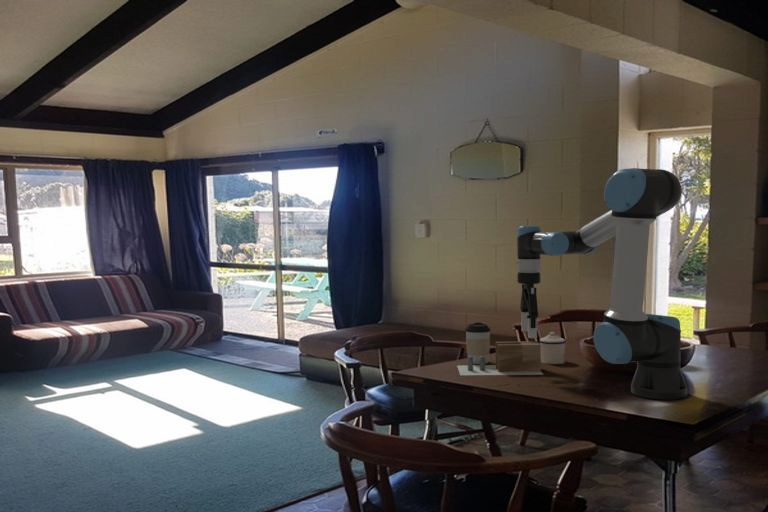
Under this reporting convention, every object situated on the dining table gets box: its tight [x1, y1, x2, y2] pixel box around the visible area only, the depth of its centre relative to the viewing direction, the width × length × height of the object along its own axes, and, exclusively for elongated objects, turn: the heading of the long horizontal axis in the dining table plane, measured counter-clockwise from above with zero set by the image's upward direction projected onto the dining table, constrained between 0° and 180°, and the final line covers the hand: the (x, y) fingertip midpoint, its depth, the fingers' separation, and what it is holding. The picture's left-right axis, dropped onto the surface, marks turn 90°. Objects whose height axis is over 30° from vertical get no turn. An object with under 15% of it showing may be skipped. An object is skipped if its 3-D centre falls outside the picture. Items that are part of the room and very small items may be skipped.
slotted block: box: [495, 340, 542, 372], centre depth 227 cm, size 7×14×9 cm, turn 88°
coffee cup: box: [464, 322, 491, 365], centre depth 242 cm, size 9×9×15 cm
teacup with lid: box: [538, 331, 566, 365], centre depth 242 cm, size 12×9×12 cm
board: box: [456, 356, 545, 376], centre depth 228 cm, size 16×27×6 cm, turn 88°
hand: (528, 334), depth 227 cm, fingers open, 13 cm apart
